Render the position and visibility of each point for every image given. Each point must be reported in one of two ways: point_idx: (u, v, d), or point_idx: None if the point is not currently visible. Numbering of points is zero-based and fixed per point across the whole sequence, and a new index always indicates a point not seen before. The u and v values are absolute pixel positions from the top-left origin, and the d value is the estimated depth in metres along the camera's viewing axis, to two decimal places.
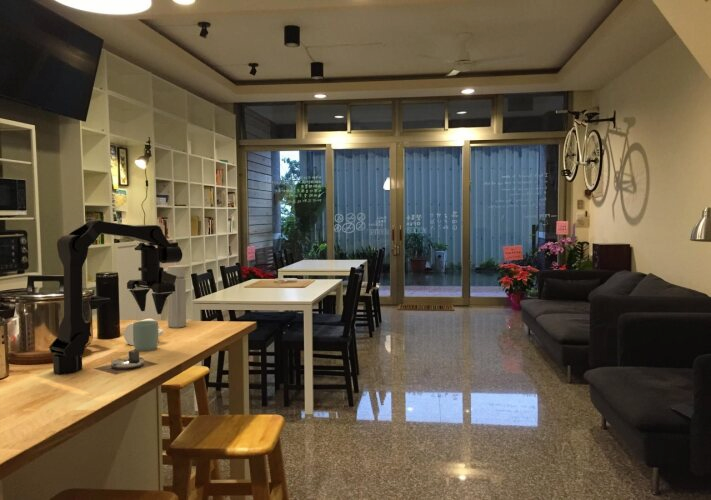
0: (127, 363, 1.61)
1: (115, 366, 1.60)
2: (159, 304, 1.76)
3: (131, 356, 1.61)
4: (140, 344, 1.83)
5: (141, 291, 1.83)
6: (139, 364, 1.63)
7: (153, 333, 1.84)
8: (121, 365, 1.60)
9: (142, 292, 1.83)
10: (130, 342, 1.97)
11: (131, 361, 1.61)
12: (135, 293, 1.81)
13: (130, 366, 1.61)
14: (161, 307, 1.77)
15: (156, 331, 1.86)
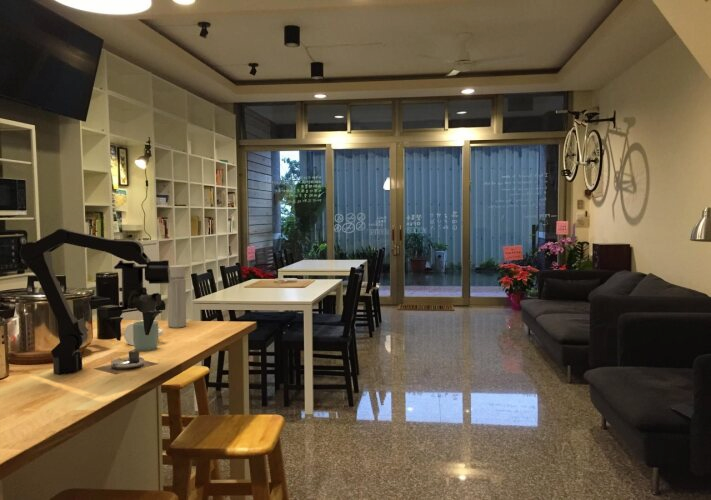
0: (127, 363, 1.61)
1: (115, 366, 1.60)
2: (113, 329, 1.58)
3: (131, 356, 1.61)
4: (140, 344, 1.83)
5: (147, 313, 1.66)
6: (139, 364, 1.63)
7: (153, 333, 1.84)
8: (121, 365, 1.60)
9: (148, 314, 1.66)
10: (130, 342, 1.97)
11: (131, 361, 1.61)
12: (143, 314, 1.67)
13: (130, 366, 1.61)
14: (116, 333, 1.58)
15: (156, 331, 1.86)
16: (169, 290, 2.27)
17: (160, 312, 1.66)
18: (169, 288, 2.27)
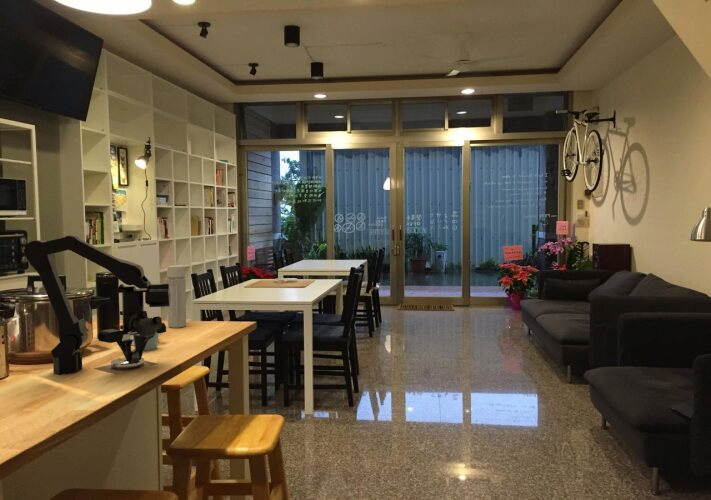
0: (127, 363, 1.61)
1: (115, 366, 1.60)
2: (124, 351, 1.61)
3: (131, 356, 1.61)
4: None
5: (139, 337, 1.64)
6: (139, 364, 1.63)
7: None
8: (121, 365, 1.60)
9: (140, 339, 1.64)
10: None
11: (131, 361, 1.61)
12: (135, 338, 1.65)
13: (130, 366, 1.61)
14: (127, 355, 1.60)
15: None
16: None
17: (152, 336, 1.64)
18: None
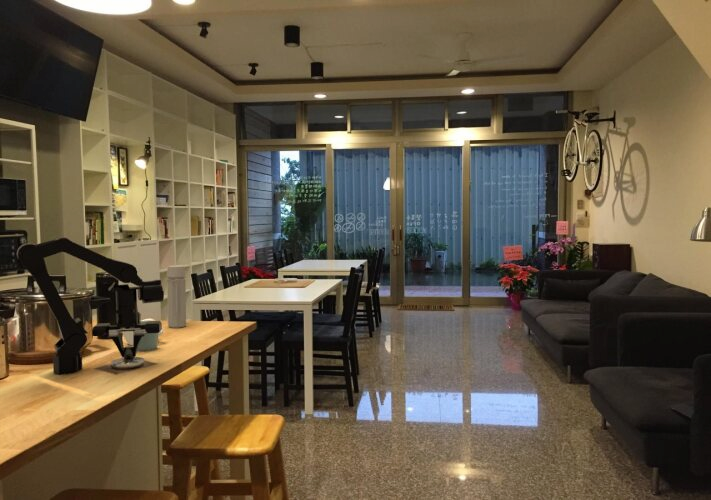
0: (135, 357, 1.68)
1: None
2: (137, 346, 1.67)
3: None
4: (140, 344, 1.83)
5: (120, 336, 1.67)
6: None
7: (153, 333, 1.84)
8: None
9: (121, 337, 1.67)
10: (130, 342, 1.97)
11: None
12: (119, 339, 1.65)
13: None
14: (137, 348, 1.68)
15: None
16: (169, 290, 2.27)
17: None
18: (169, 288, 2.27)
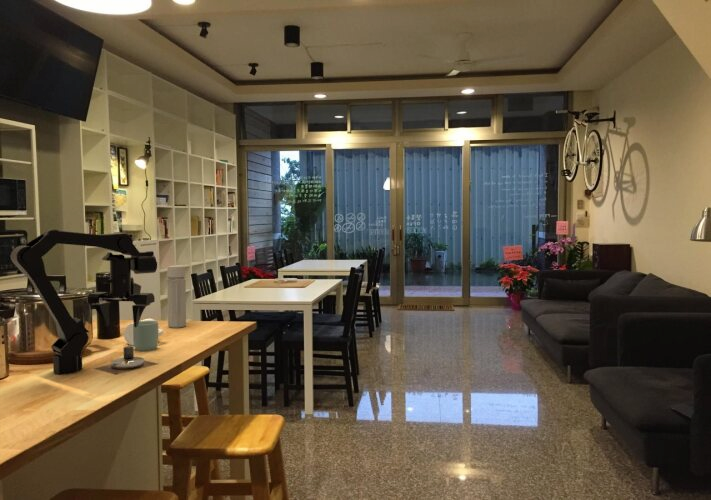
0: (135, 357, 1.68)
1: None
2: (138, 316, 1.67)
3: None
4: (140, 344, 1.83)
5: (104, 305, 1.69)
6: None
7: (153, 333, 1.84)
8: None
9: (105, 306, 1.69)
10: (130, 342, 1.97)
11: None
12: (100, 307, 1.67)
13: None
14: (138, 319, 1.68)
15: (156, 331, 1.86)
16: (169, 290, 2.27)
17: None
18: (169, 288, 2.27)
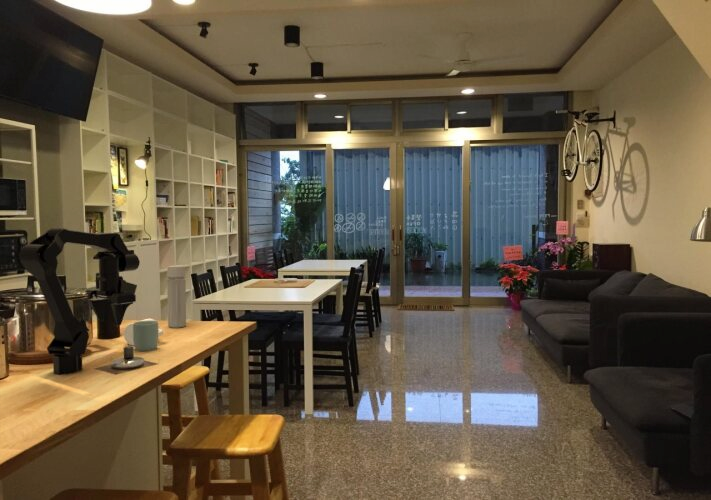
0: (135, 357, 1.68)
1: None
2: (119, 315, 1.70)
3: None
4: (140, 344, 1.83)
5: (99, 301, 1.76)
6: None
7: (153, 333, 1.84)
8: None
9: (100, 302, 1.76)
10: (130, 342, 1.97)
11: None
12: (93, 303, 1.74)
13: None
14: (121, 318, 1.71)
15: (156, 331, 1.86)
16: (169, 290, 2.27)
17: (104, 299, 1.80)
18: (169, 288, 2.27)
